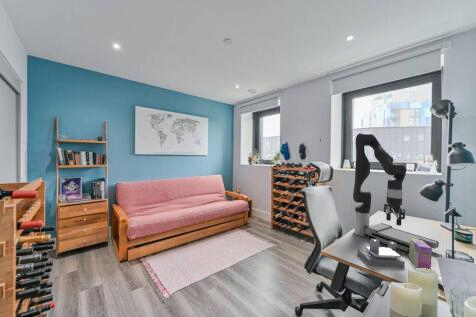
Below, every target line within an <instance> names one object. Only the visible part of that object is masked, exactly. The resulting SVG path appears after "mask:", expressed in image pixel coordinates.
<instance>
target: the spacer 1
mask: <svg viewBox="0 0 476 317" xmlns="http://www.w3.org/2000/svg"><path fill="white" fill-rule="evenodd" d="M379 242H380V241H379V240H376V239H370V240H369V247H370V251H372V252H375V253H379V247H380V243H379Z"/></svg>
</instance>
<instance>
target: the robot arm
mask: <svg viewBox="0 0 476 317" xmlns="http://www.w3.org/2000/svg"><path fill="white" fill-rule="evenodd" d="M365 147H370V148H371V149H373V155H374V158H375V159H376V160H377V162H379V163H380V164H381V167H382V169H383V171H384V173H385V174H387V175H388V176H393V177H392V178H390V179H388V180H387V189H386V203H385V202H384V205H383V213H385V216H386V221H388V222H389V221H391V219H392V214H393V215H394V216H395V218H396V222H395V223H396V226H399V227H400V226H402V220H405V219H406V209H405V208H402V207H401V206H402V205H403V182H404V180H405V177H406V174H407V168H406V166H405V165H404V164H402V163H394V158H393V157H392V155H391V154H390V153H388V152H387V151H386V150H385V149H384V147H383V146H382V145H381V143H380V142H379V140H378V139H377V138H376V136H375V135H374V134H372V133H369V132H365V133H364V132H360V133H358V134H357V135H356V137H355V168H354V171H355V172H354V186H353V190H352V191H353V193H352V199H353V202H355V203H361V204H360V205H357V206H355V207H354V220H353V221H354V223H353V224H354V225H353V226H354V227H353V228H354V230H353V232H354V233H353V234H355V236H358V237H362V238H363V237H364V238H367V236H366V234H365V227H369V226H370V215H371V214H370V212H371V208H372V206H371V205H372V193H371V192H370V190H367V189H365V190H364V189H362V186H363V183H364V182H365V181H366V180H367V178H368V177H369V175H370V174H371V163H370V160H369V158H368V156H367V155H366V152H365Z"/></svg>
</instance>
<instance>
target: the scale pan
mask: <svg viewBox="0 0 476 317" xmlns="http://www.w3.org/2000/svg"><path fill="white" fill-rule="evenodd" d="M365 250H368V251H369V252H370V253H372V254H373V255H374V256H375V257H389V258H400V259H401V255H400V254H399V253H398V252H397V253H396V252H394V251H393V250H391V249H390V248H388V247H380V246H379V253H375V252H372V251H370V246H365Z"/></svg>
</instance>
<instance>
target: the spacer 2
mask: <svg viewBox="0 0 476 317" xmlns="http://www.w3.org/2000/svg"><path fill="white" fill-rule="evenodd" d="M387 248H390V249H391V250H393V251H394V252H396V253H397V254H398V250H397V243H396V242H392V241H388V246H387Z"/></svg>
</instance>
